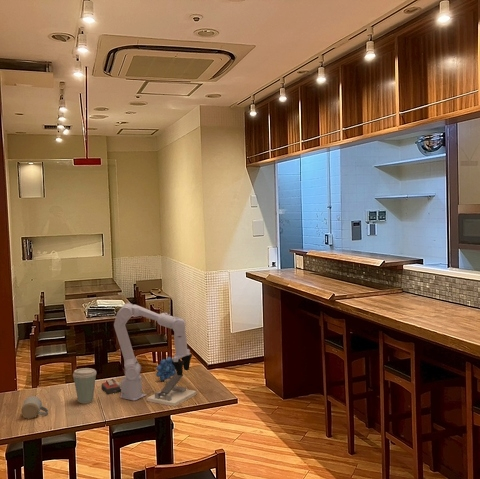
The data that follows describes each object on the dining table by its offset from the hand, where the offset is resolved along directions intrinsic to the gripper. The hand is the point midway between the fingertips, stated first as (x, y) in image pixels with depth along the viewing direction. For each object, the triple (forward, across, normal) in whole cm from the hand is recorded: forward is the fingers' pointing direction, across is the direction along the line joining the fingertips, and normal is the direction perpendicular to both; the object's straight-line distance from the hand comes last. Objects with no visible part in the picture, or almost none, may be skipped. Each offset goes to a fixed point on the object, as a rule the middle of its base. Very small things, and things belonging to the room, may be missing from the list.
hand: (183, 372), depth 243 cm
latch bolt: (+6, +2, +9) cm, 10 cm away
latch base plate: (+10, -6, +4) cm, 12 cm away
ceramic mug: (+8, -38, +54) cm, 67 cm away
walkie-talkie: (+9, +1, +41) cm, 42 cm away
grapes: (+10, +18, +18) cm, 28 cm away
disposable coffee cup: (+9, -19, +42) cm, 47 cm away
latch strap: (+5, -6, +4) cm, 8 cm away
